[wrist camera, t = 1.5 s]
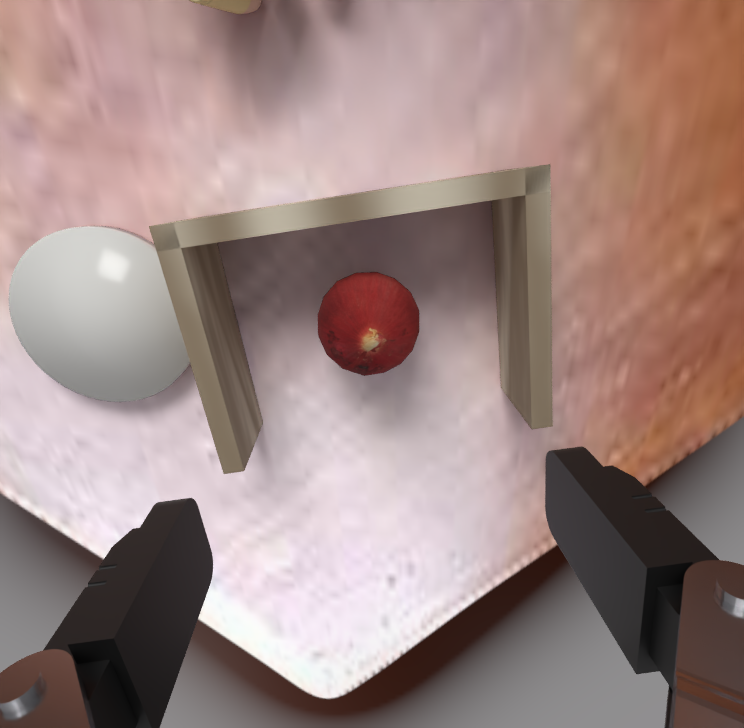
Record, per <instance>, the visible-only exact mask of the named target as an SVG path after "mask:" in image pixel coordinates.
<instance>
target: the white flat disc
mask: <svg viewBox="0 0 744 728" xmlns="http://www.w3.org/2000/svg"><path fill="white" fill-rule="evenodd" d="M9 310H10V315H11V319H12V323H13V326H14V329H15V332H16V334H17V336H18V338H19V340H20V342H21V344H22V346H23V347H24V349H25V350H26V352H27V353H28V355H29V356H30V357H31V358H32V360H33V361H34V362H35V363H36V364H37V365H38V366H39V367H40V368H41V369H42V370H43V371H44V372H45V373H46V374H47V375H49V376H50V377H51V378H52V379H54V380H55V381H56V382H58V383H60V384H61V385H63V386H64V387H66V388H68V389H70V390H72V391H74V392H76V393H79V394H81V395H84V396H87V397H90V398H94V399H98V400H103V401H110V402H127V401H135V400H140V399H144V398H147V397H150V396H153V395H155V394H157V393H159V392H161V391H163V390H164V389H166V388H167V387H168V386H170V385H171V384H172V383H173V382H174V381H175V380H176V379H177V378H178V377H179V376H180V375H181V374H182V373H183V372H184V371H185V370H186V368H187V367H188V366H189V364H190V361H189V357H188V354H187V351H186V347H185V344H184V341H183V337H182V334H181V331H180V327H179V324H178V321H177V318H176V314H175V311H174V308H173V304H172V301H171V298H170V294H169V291H168V288H167V284H166V281H165V278H164V275H163V271H162V268H161V265H160V261H159V258H158V255H157V251H156V248H155V245H154V243H152V242H150V241H148V240H147V239H145V238H143V237H141V236H139V235H137V234H134V233H132V232H129V231H126V230H123V229H120V228H114V227H109V226H82V227H75V228H69V229H65V230H60V231H57V232H55V233H52V234H49V235H47V236H45V237H44V238H42V239H40V240H39V241H37V242H36V243H35V244H34V245H32V246H31V247H30V248H29V249H28V250H27V251H26V252H25V254H24V255H23V256H22V257H21V259H20V260H19V262H18V264H17V265H16V267H15V270H14V272H13V275H12V278H11V283H10V287H9Z"/></svg>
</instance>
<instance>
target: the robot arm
mask: <svg viewBox="0 0 744 728" xmlns="http://www.w3.org/2000/svg"><path fill="white" fill-rule="evenodd" d="M545 509H546V517H547V521H548V525H549V528H550V531H551V533H552V535H553V537H554V539H555V541H556V542H557V544H558V545H559V547H560V549H561V550H562V552H563V554H564V555H565V557H566V559H567V560H568V562H569V564H570V565H571V567H572V569H573V570H574V572H575V574H576V575H577V577H578V579H579V580H580V582H581V583H582V585H583V587H584V589H585V590H586V592H587V593H588V595H589V597H590V598H591V600H592V602H593V603H594V605H595V607H596V608H597V610H598V612H599V613H600V615H601V617H602V618H603V620H604V622H605V623H606V625H607V626H608V628H609V630H610V632H611V633H612V635H613V636H614V638H615V640H616V641H617V643H618V645H619V646H620V648H621V650H622V651H623V653H624V655H625V656H626V658H627V660H628V661H629V663H630V664H631V666H632V668H633V670H634V671H635V673H636V674H641V673H649V672H656V671H660V672H661V674H662V675H663V677H664V678H665V680H666V681H667V683H668V684H669V690H668V697H667V707H666V718H665V728H744V565H741V564H738V563H733V562H729V561H721V560H719V559H718V558H717V557H716V556H715V555H714V554H713V553H712V552H711V551H710V550H709V549H708V548H707V547H706V546H705V545H703V544H702V542H701V541H699V540H698V539H697V538H696V537H695V536H694V535H693V534H692V533H691V532H690V531H689V530H688V529H687V528H686V527H685V526H684V525H683V524H682V523H681V522H680V521H679V520H678V519H677V518H676V517H675V516H674V515H673V514H672V513H671V512H670V511H666V509H665V506H664V505H663V504H662V503H661V502H660V501H658V499H657V498H656V497H652V495H651V493H650V492H649V491H648V490H647V489H646V488H645V487H644V486H643V485H642V484H641V483H640V482H639V481H638V480H637V479H636V478H635V477H633V476H631V475H629V474H627V473H625V472H624V471H622V470H620V469H618V468H616V467H614V466H605V467H603V466H602V465H601V464H600V463H599V462H598V461H597V460H596V459H595V457H594V456H593V455H592V454H591V453H590V452H589V451H588V450H587V449H586V448H584V447H575V448H567V449H560V450H552V451H549V452H548V453H547V455H546V491H545ZM212 573H213V558H212V552H211V548H210V545H209V542H208V538H207V535H206V532H205V528H204V525H203V522H202V518H201V515H200V512H199V509H198V506H197V503H196V501H195V500H194V499H192V498H187V499H180V500H172V501H165V502H158V503H156V504H155V505H154V506H153V508H152V509H151V511H150V513H149V514H148V516H147V517H146V519H145V521H144V522H143V524H142V525H141V527H140V528H136V529H132V530H131V531H130V532H129V533H128V534H126V535H125V536H124V537H123V538H122V539H121V540H120V541H118V542H117V543H116V544H115V545H114V546H113V547H112V548H111V550H110V551H109V553H108V554H107V556H106V557H105V559H104V560H103V562H102V563H101V565H100V566H99V570H97V571H96V572H95V574H94V575H93V577H92V578H91V580H90V581H89V583H88V587H86V588H85V589H84V590H83V592H82V593H81V595H80V596H79V597H78V599H77V601H76V602H75V603H74V605H73V606H72V608H71V609H70V611H69V612H68V614H67V616H66V617H65V618H64V620H63V621H62V623H61V625H60V626H59V627H58V629H57V631H56V632H55V634H54V635H53V636H52V638H51V639H50V641H49V642H48V644H47V646H46V647H45V648H44V650H43V651H40V652H37V653H34V654H32V655H29V656H27V657H25V658H23V659H21V660H19V661H17V662H16V663H14V664H13V665H11V666H9V667H8V668H7V669H5V670H4V671H2V672H1V673H0V728H160V725H161V722H162V719H163V716H164V713H165V710H166V708H167V705H168V702H169V699H170V696H171V693H172V691H173V688H174V685H175V682H176V679H177V676H178V673H179V671H180V668H181V665H182V662H183V659H184V657H185V654H186V651H187V648H188V645H189V642H190V640H191V637H192V634H193V631H194V628H195V625H196V622H197V620H198V617H199V614H200V611H201V608H202V606H203V603H204V600H205V597H206V594H207V591H208V589H209V586H210V583H211V579H212Z"/></svg>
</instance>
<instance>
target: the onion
mask: <svg viewBox="0 0 744 728" xmlns="http://www.w3.org/2000/svg"><path fill="white" fill-rule="evenodd" d="M418 333H419V309H418V307H417V305H416V303H415V300H414V298H413V296H412V294H411V292H410V291H409V290H408V289H406V288H405V287H404V286H403V285H402V284H401V283H399V282H398V281H397V280H396V279H395V278H392V277H389V276H386V275H383V274H381V273H378V272H366V273H355V274H353V275H350V276H348V277H346V278H343V279H341V280H339V281H337V282H336V283H335V284H334V285H333V287H332V288H331V289H330V290H329V291H328V292H327V294H326V295H325V296H324V297H323V300H322V303H321V307H320V310H319V313H318V336H319V339H320V341H321V343H322V345H323V347H324V350H325V352H326V354H327V355H328V356H329V357H330V358H331V359H332V360H334V361H335V362H336V363H337V364H338V365H339V366H340V367H341V368H343V369H345V370H348V371H351V372H354V373H357V374H361V375H364V376H365V375H372V374H378V373H384V372H386V371H388V370H390V369H392V368H394V367H396V366H398V365H399V364H401V363H402V362H403V361H404V359H405V358H406V357H407V356H408V355H409V354H410V353H411V351H412V350H413V347H414V345H415V342H416V339H417V336H418Z"/></svg>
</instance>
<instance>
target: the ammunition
mask: <svg viewBox="0 0 744 728" xmlns="http://www.w3.org/2000/svg"><path fill="white" fill-rule="evenodd" d="M190 1H191V2H194V3H198V4H201V5H205V6H208V7H212V8H216V9H220V10H224V11H228V12H231V13H235V14H246V13H252V12H254V11H256V10H257V9H258V8H259V7H260V5H261V0H190Z"/></svg>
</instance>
